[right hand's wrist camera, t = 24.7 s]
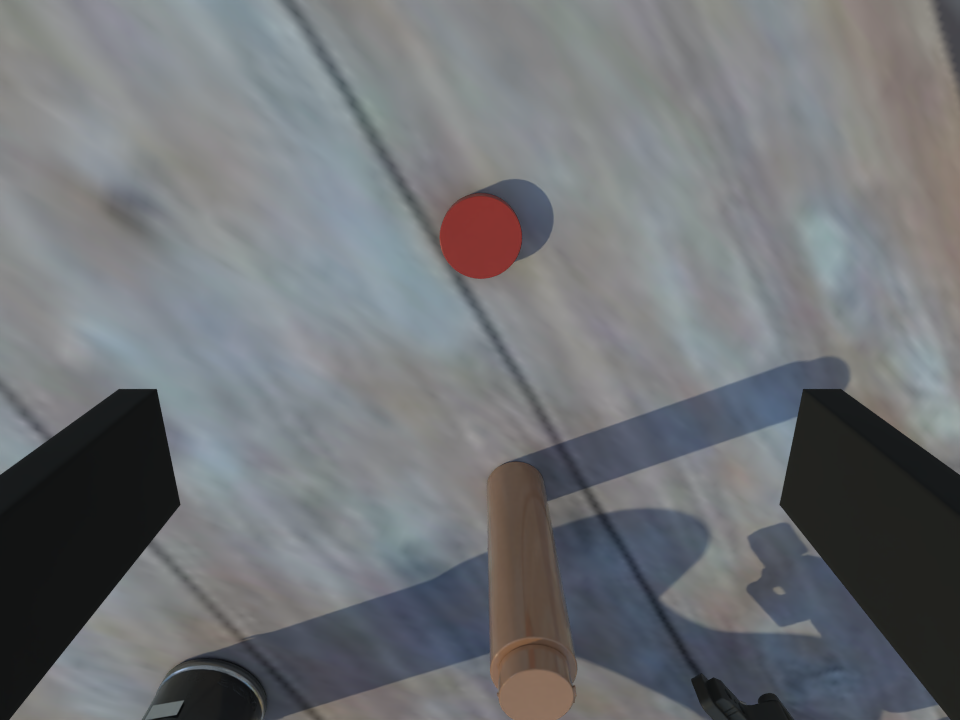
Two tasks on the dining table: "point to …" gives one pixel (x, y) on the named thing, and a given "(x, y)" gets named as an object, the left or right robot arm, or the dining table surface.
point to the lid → (480, 236)
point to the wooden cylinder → (526, 599)
